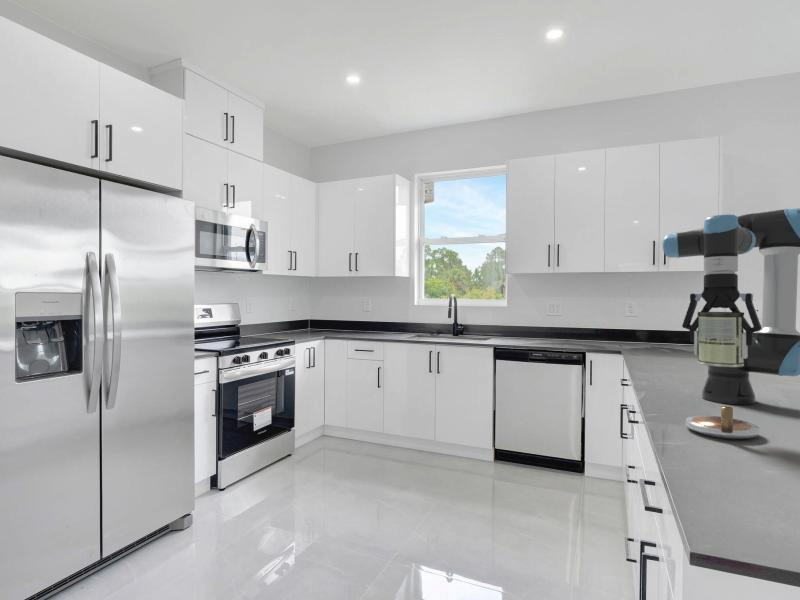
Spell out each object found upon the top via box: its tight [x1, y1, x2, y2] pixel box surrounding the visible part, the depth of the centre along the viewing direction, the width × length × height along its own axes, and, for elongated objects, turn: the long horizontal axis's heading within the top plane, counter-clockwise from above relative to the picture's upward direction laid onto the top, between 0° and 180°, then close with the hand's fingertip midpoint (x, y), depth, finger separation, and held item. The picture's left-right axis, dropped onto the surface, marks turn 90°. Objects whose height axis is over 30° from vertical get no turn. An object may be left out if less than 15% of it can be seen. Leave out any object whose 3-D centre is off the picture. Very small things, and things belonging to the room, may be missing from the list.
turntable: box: [685, 405, 760, 439], centre depth 123 cm, size 17×16×8 cm
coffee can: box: [697, 311, 745, 367], centre depth 124 cm, size 10×10×14 cm
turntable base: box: [698, 432, 748, 441], centre depth 123 cm, size 12×12×1 cm
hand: (720, 356), depth 124 cm, fingers closed on coffee can, 10 cm apart
